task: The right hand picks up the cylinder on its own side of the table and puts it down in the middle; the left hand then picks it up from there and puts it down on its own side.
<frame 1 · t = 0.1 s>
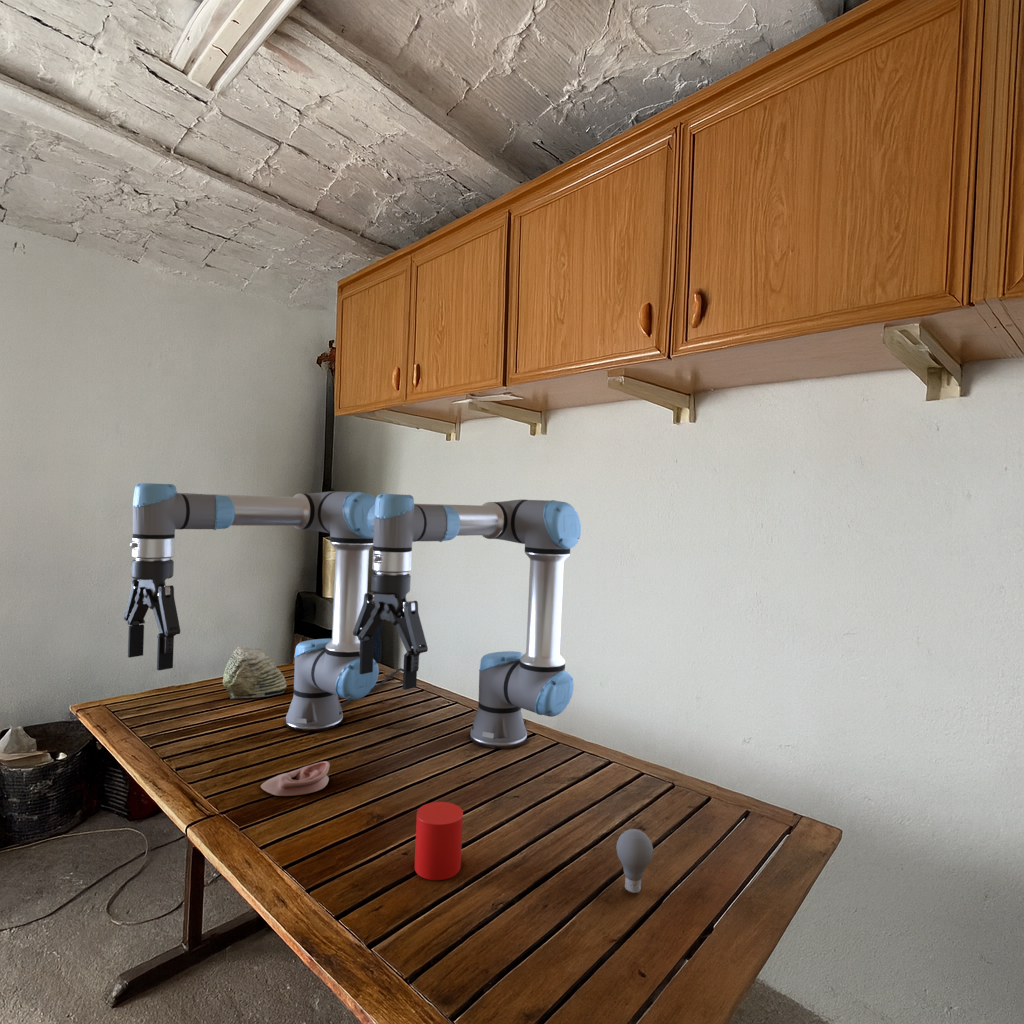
left hand: (149, 662, 129), 28 cm above the table, tool pointing down, fingers open, 13 cm apart
right hand: (386, 680, 124), 28 cm above the table, tool pointing down, fingers open, 13 cm apart
fossil: (254, 694, 198), on the table
cylinder: (437, 866, 110), on the table
light bulb: (632, 891, 106), on the table
anatomical model: (295, 785, 138), on the table
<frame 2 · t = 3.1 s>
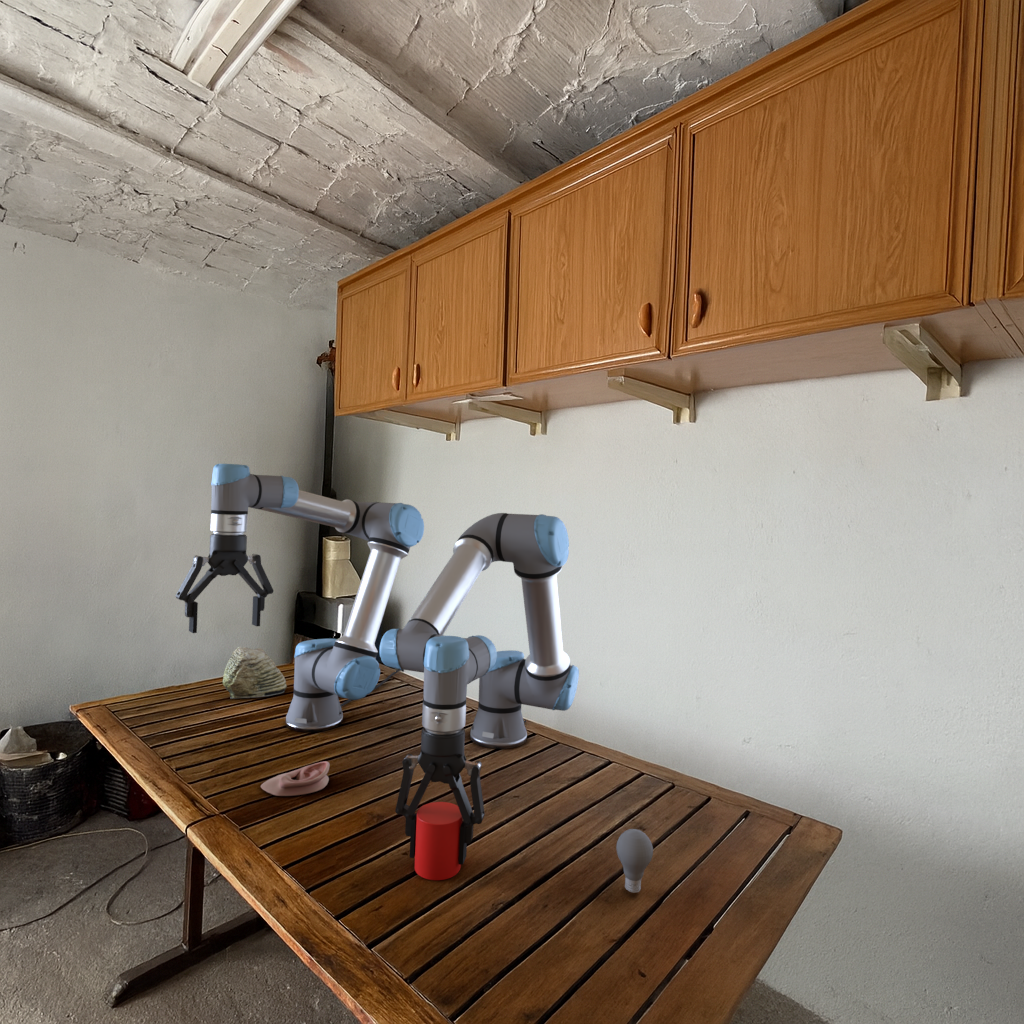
left hand: (225, 628, 141), 33 cm above the table, tool pointing down, fingers open, 13 cm apart
right hand: (438, 856, 110), 2 cm above the table, tool pointing down, fingers closed on cylinder, 8 cm apart
cylinder: (437, 866, 110), on the table, touching right hand
everything else where it was.
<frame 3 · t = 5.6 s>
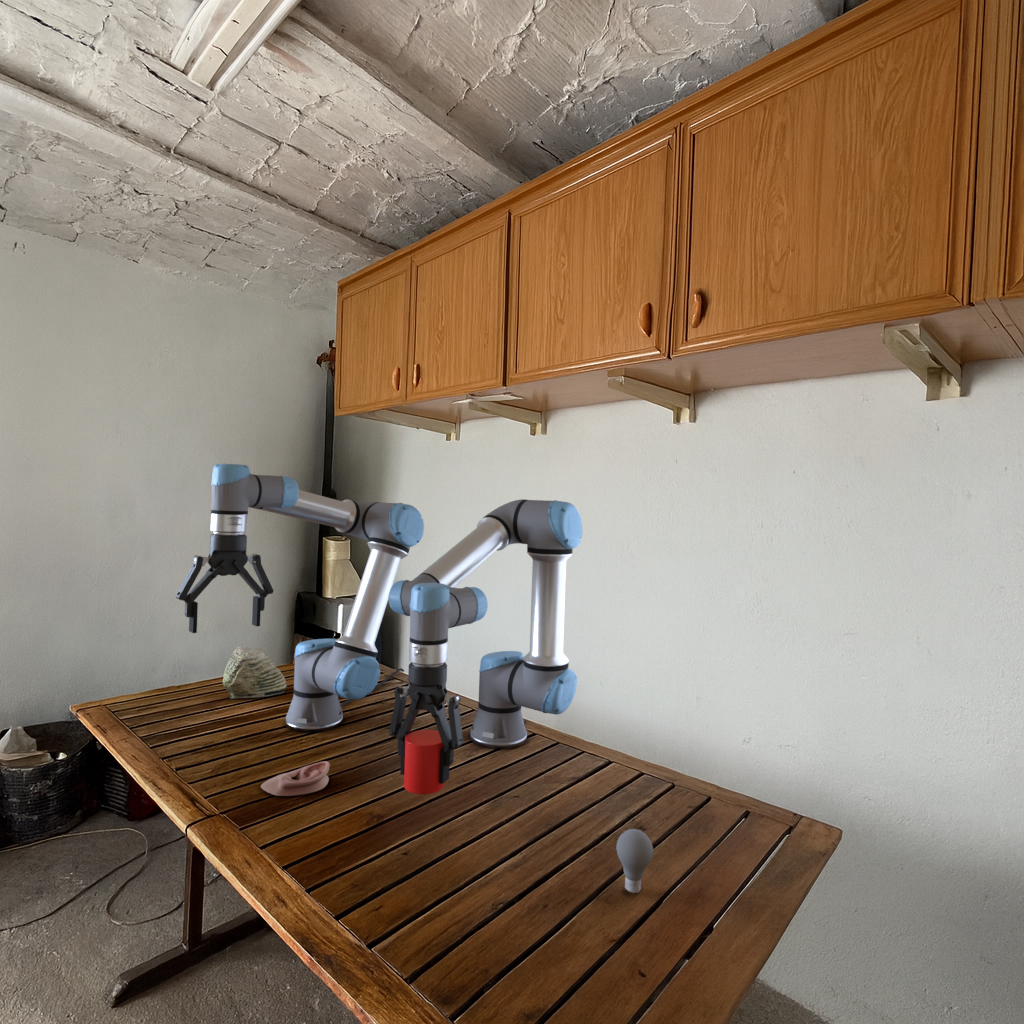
left hand: (225, 628, 141), 33 cm above the table, tool pointing down, fingers open, 13 cm apart
right hand: (424, 776, 125), 9 cm above the table, tool pointing down, fingers closed on cylinder, 8 cm apart
cylinder: (424, 784, 125), point 7 cm above the table, touching right hand
everything else where it was.
when the right hand's fingers open (3 cm above the table, at t = 8.5 s): cylinder drops 1 cm, on the table.
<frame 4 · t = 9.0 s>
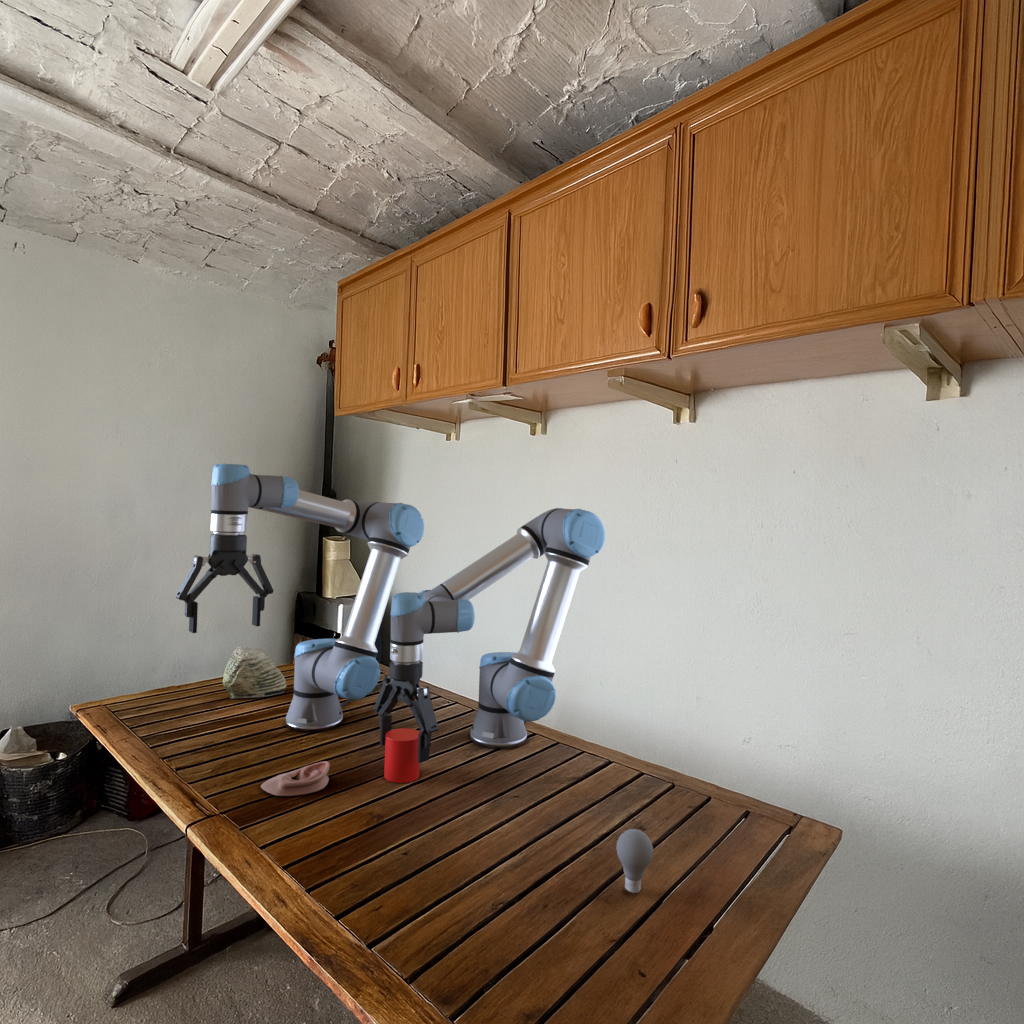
left hand: (225, 628, 141), 33 cm above the table, tool pointing down, fingers open, 13 cm apart
right hand: (403, 752, 146), 5 cm above the table, tool pointing down, fingers open, 13 cm apart
cylinder: (401, 775, 146), on the table
everything else where it was.
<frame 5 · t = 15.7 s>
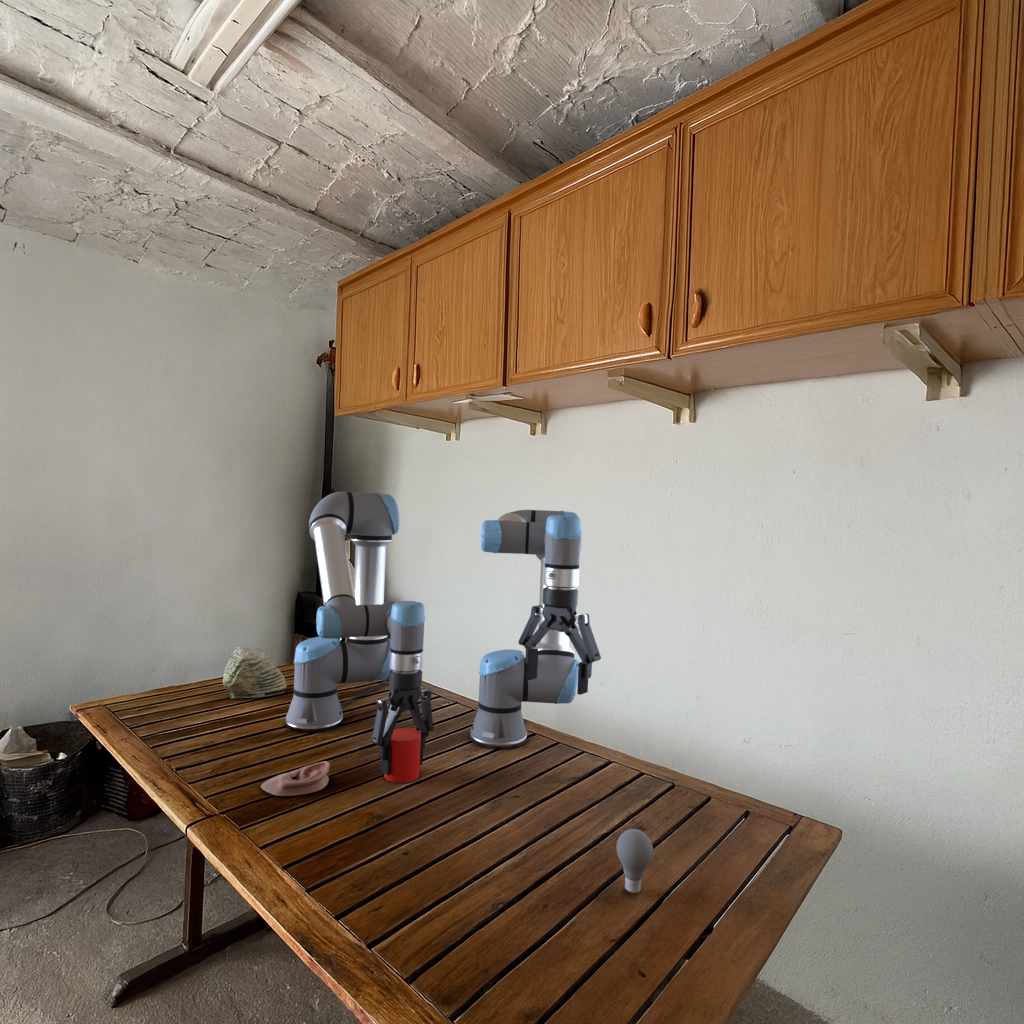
left hand: (402, 767, 146), 2 cm above the table, tool pointing down, fingers closed on cylinder, 8 cm apart
right hand: (556, 685, 136), 25 cm above the table, tool pointing down, fingers open, 13 cm apart
cylinder: (401, 775, 146), on the table, touching left hand
everything else where it was.
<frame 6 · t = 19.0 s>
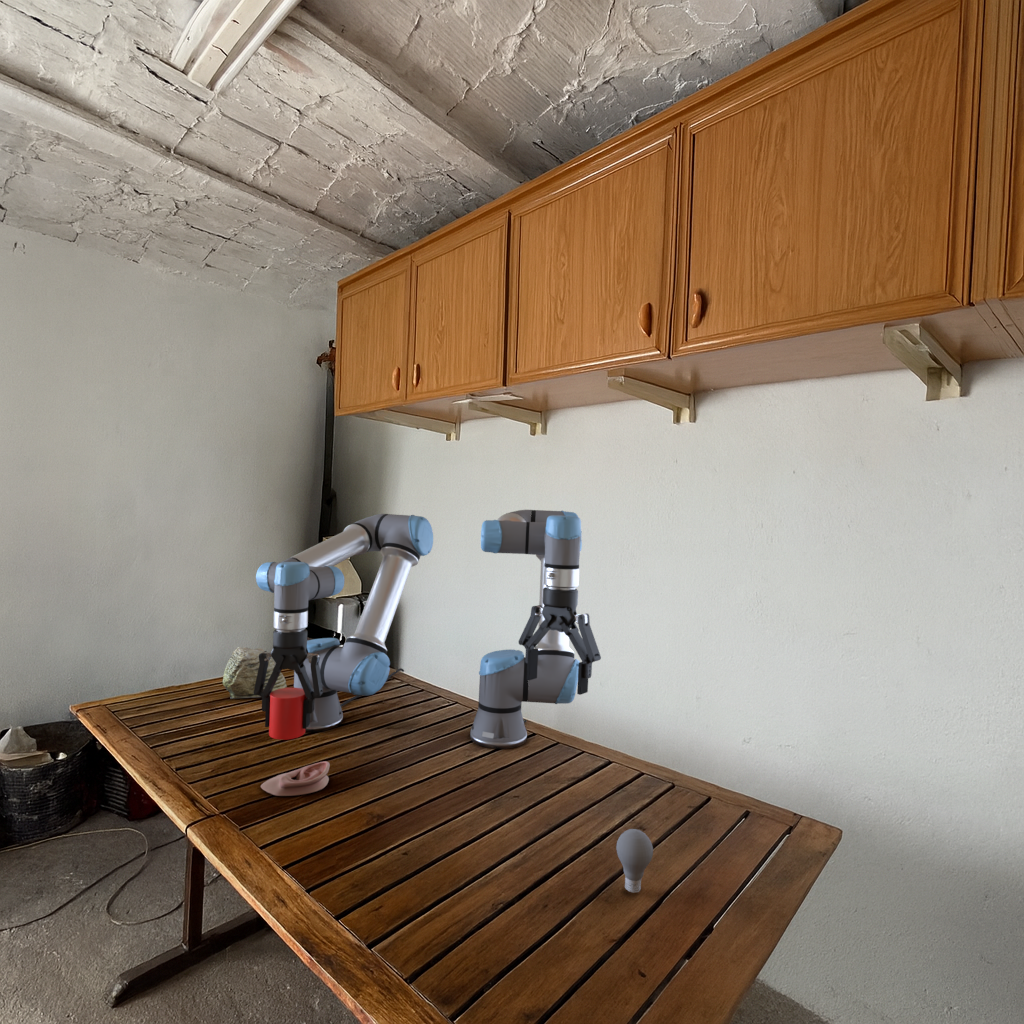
left hand: (287, 725, 148), 10 cm above the table, tool pointing down, fingers closed on cylinder, 8 cm apart
right hand: (556, 685, 136), 25 cm above the table, tool pointing down, fingers open, 13 cm apart
cylinder: (287, 733, 148), point 8 cm above the table, touching left hand
everything else where it was.
when the left hand's fingers open (3 cm above the table, at t = 22.3 s): cylinder drops 1 cm, on the table.
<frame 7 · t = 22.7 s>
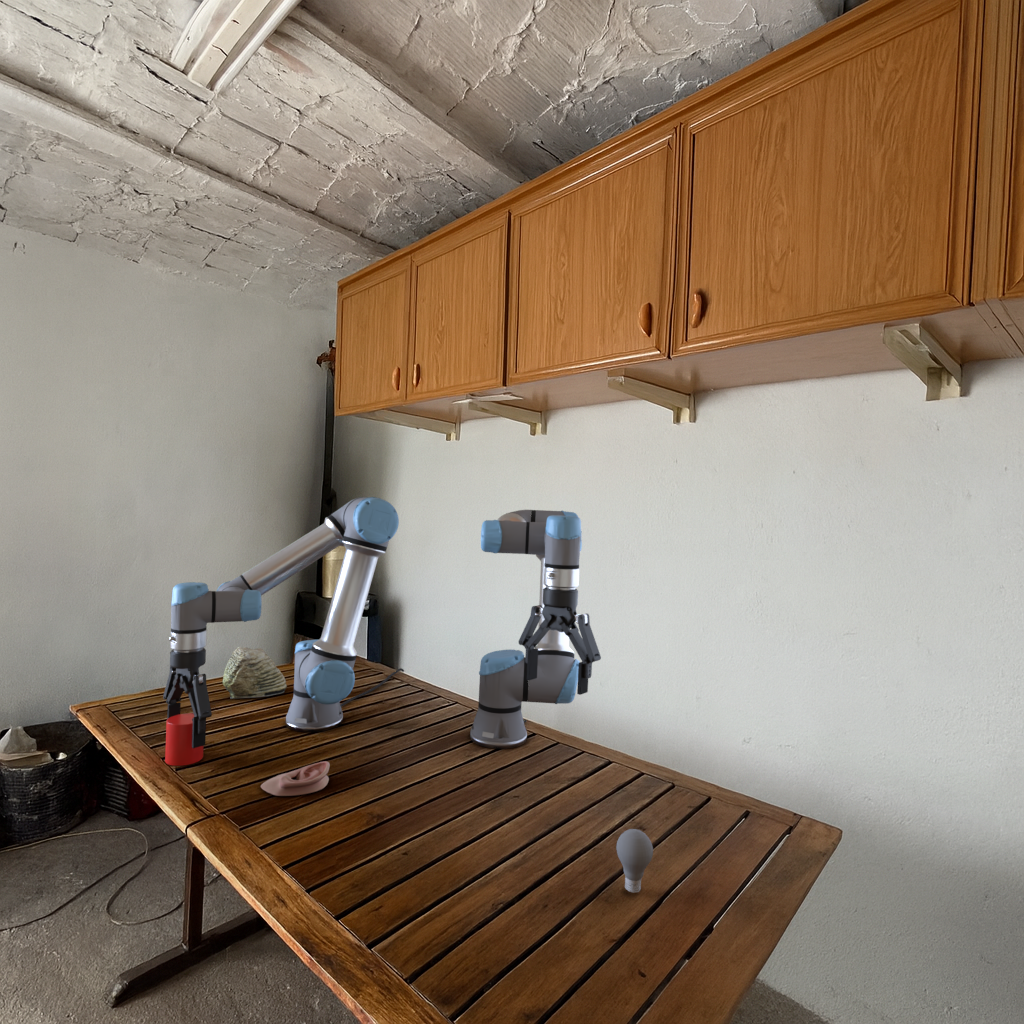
left hand: (185, 738, 150), 5 cm above the table, tool pointing down, fingers open, 13 cm apart
right hand: (556, 685, 136), 25 cm above the table, tool pointing down, fingers open, 13 cm apart
cylinder: (184, 758, 150), on the table
everything else where it was.
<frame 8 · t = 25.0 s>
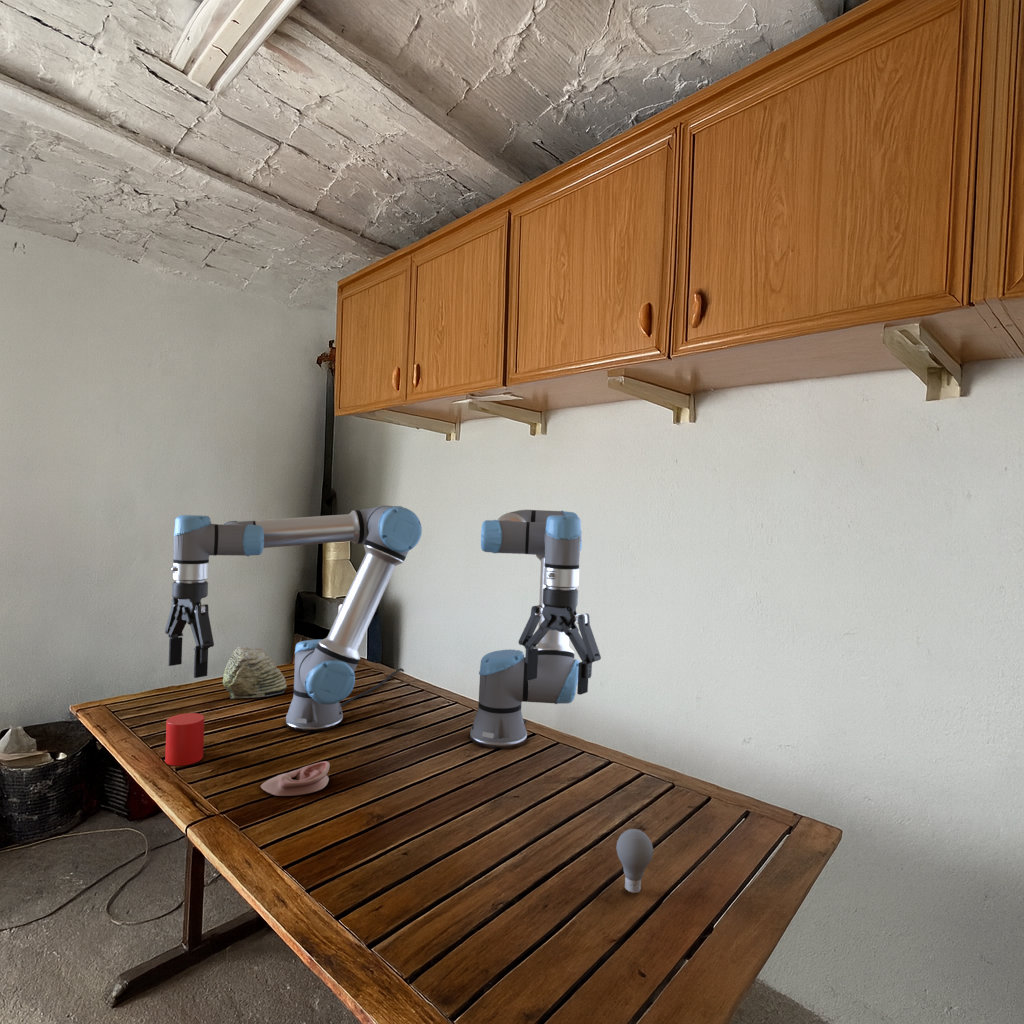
left hand: (187, 670, 149), 21 cm above the table, tool pointing down, fingers open, 13 cm apart
right hand: (556, 685, 136), 25 cm above the table, tool pointing down, fingers open, 13 cm apart
nothing on the table moved.
at the end: cylinder inside the target area (0.0 cm from its centre), on the table; cylinder tilted 0°; the two hands never held the cylinder at the same time; the left hand is holding nothing; the right hand is holding nothing; cylinder at rest at the end (0.0 cm/s) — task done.
